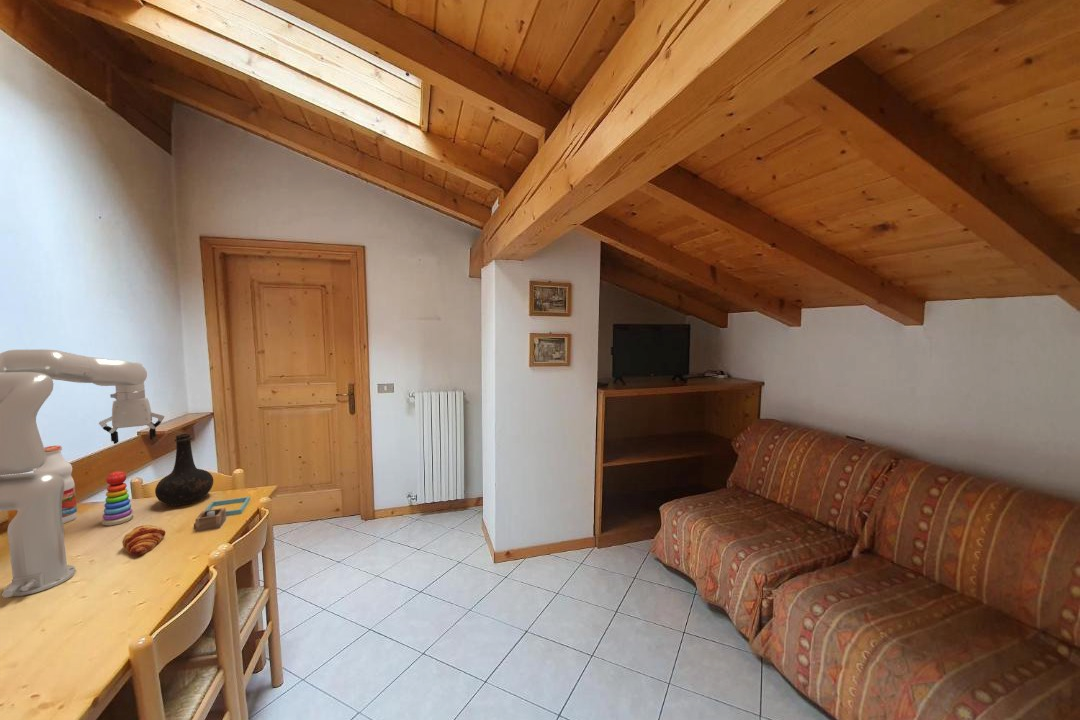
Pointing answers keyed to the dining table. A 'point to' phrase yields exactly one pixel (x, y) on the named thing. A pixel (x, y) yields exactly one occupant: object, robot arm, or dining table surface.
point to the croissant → (142, 539)
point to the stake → (212, 513)
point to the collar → (210, 520)
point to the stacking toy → (117, 500)
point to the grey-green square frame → (231, 501)
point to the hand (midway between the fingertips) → (134, 440)
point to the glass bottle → (184, 477)
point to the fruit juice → (63, 469)
